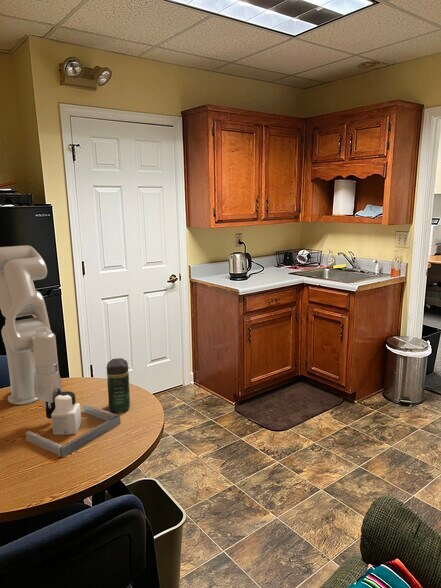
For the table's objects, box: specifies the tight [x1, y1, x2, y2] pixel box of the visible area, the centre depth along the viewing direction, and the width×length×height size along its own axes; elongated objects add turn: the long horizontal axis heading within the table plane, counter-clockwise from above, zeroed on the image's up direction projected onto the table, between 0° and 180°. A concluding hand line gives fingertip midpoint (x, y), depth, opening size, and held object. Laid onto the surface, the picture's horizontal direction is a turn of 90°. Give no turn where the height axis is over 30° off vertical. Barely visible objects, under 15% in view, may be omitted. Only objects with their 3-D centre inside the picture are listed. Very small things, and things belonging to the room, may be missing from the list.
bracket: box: [25, 403, 122, 458], centre depth 151 cm, size 18×24×3 cm
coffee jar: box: [106, 357, 131, 413], centre depth 167 cm, size 10×8×19 cm
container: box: [51, 390, 82, 436], centre depth 152 cm, size 8×8×13 cm
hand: (51, 416), depth 157 cm, fingers closed
